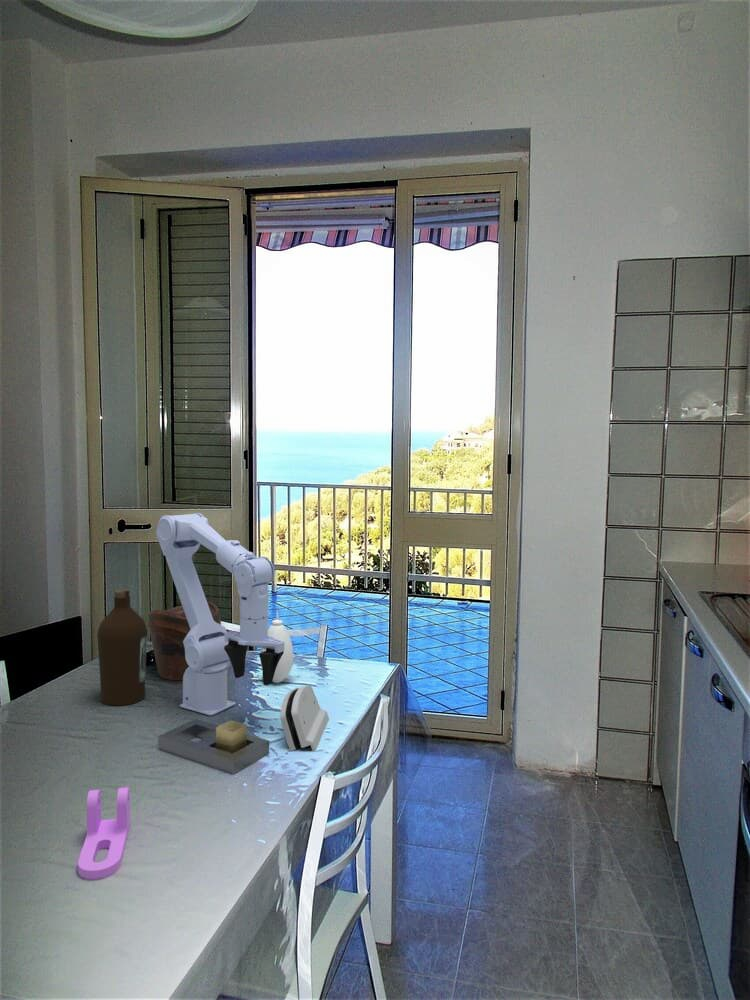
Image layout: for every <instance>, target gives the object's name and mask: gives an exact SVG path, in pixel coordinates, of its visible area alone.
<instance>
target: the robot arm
mask: <svg viewBox="0 0 750 1000" xmlns="http://www.w3.org/2000/svg"><path fill="white" fill-rule="evenodd" d="M155 532H156V533H155V534H156V537H157V541H158V543H159V546H160V549H161V552H162V554H163V556H165V560H166V562H167V566H168V568H169V571H170V575H171V577H172V580H173V583H174V586H175V589H176V592H177V595H178V598H179V600H180V603H181V606H183V609H184V612H185V615H186V618H187V621H188V624H189V627H190V631H189V633H188V634H187V636H186V637H185V639H184V641H183V644H184V647H185V658H186V662H187V664H188V665H189V667H188V668H187V669H186V671H185V673H184V676H183V680H182V703H181V704H180V705H179V707H180V708H183V709H186V710H190V711H194V712H198V713H199V714H203V715H207V716H214V715H216V714H218V713H220V712H223V711H225V710H226V709H229V708H230V707H233V706H235V705H236V702H235V701H232V700H228V667H230V665H231V667H232V670H233V675H234V677H235V679H239V678H241V677H244V676H245V672H246V656H247V652H248V647H249V646H250V647H254V648H259V649H261V648H263V649H266V651H264V652H261V651H260V653H258V656H259V658H260V659H259V660H260V665H261V664H262V667H261V670H262V684H263V685H264V686H268V685H270V684H273V682H272V681H273V677H274V673H275V670H276V667H277V665H278V662H279V660H280V658H281V657H282V655H283V653H284V642H283V641H280V640H277V639H275V638H273V637H270V636H268V629H269V625H268V623H269V621H268V620H269V584H271V583H272V582H273V580H274V577H275V567H274V564H273V563H272V561H271V560H270V559H269V558H268V557H267V556H256V555H255V554H254V552H252V551H249V550H248V549H246V547H244V546H242V545H241V542H240V541H239V540H237V539H235V540H232V539H230V540H226V539H225V538H224V537H222V535H221V534H219V533H218V532H217V531H216V530H215V529H214V528H213V527H212V526H211V525H210V524H209V519H208V518H207V517H205V516H204V515H203V514H201V513H200V512H194V513H187V514H177V515H176V514H174V515H173V514H172V515H169V514H166V515H162V516H161V517H160V518H159V521H158V523H157V528H156V531H155ZM201 545H202V546H203V547H205V548H206V549H208V550H209V551H211V552H212V553H214V554H215V559H216V561H217V563H218V564H220V565H221V567H223V568H225V569H226V570H227V571H228V572H230V573H231V574H232V575H233V578H234V581H235V584H236V586H237V594H238V596H239V631H234V630H229V631H228V630H227V628H226V627H225V626H224V625H222V624H221V625H220V624H218V623H216V622H215V621H214V620H213V617H212V615H211V612H210V609H209V606H208V603H207V602H208V601H207V597H206V595H205V592H204V590H203V587H202V584H201V581H200V579H199V575H198V572H197V571H196V570H197V569H196V567H195V565H194V561H193V554H195V553H197V551H198V550H199V548H200V546H201ZM200 640H201V641H200Z"/></svg>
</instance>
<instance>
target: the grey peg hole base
mask: <svg viewBox="0 0 750 1000" xmlns="http://www.w3.org/2000/svg"><path fill="white" fill-rule="evenodd" d="M218 726H219V725H217V724H214V723H212V722H208V721H205V720H201V719H198V718H194V719H192V720H190V721H188V722H186V723H184V724H182V725H179V726H177V727H175V728H172V729H171V730H169V731H168V730H167V732H164V733H162V734H160V735H157V748H158V750H161V751H164V752H166V753H170V754H173V755H175V756H179V757H181V758H185V759H187V760H190V761H193V762H196V763H199V764H202V765H205V766H208V767H211V768H213V769H216V770H220V771H223V772H225V773H226V772H227V773H229V774H232V775H235V774H236V773H238V772H240V771H241V770H243V769H245V768H247V767H248V766H250V765H252V764H254V763H255V762H257V761H258V760H260V759H262V758H264V757H265V756H267V755H269V754H270V740H268V739H265V738H262V737H259V736H255V735H251V734H249V733H247V746H246V747H244V748H242V749H240V750H239V751H237V752H235V753H233V754H232V753H229V752H226V751H222V750H219V749H216V727H218ZM196 737H197V738H200V740H198V741H194V740H192V739H194V738H196Z"/></svg>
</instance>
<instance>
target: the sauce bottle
mask: <svg viewBox="0 0 750 1000" xmlns="http://www.w3.org/2000/svg"><path fill="white" fill-rule="evenodd" d="M275 616H276V617H275V619H274V620H271V625H270V626H268V636H270V637H273V638H275V639H277V640H280V641H283V642H284V653H283V655H282V657H281V658H280V660H279V662H278V665H277V667H276V670H275V673H274V677H273V681H272V684H273V683H274V684H279V683H281V682H283V681H284V680H285V679H286V678H287V677H289V674H290V673H291V671H292V668H293V665H294V648H293V643H292V639H291V637H290V634H289V631H288V630H287V628H286V626H284V623H283V620H281V619H279V611H278V610H276V615H275ZM264 651H266V649H263V648H260V653H261V652H264ZM260 666H261V668H262V664H261V663H260Z"/></svg>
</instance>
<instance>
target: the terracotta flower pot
mask: <svg viewBox="0 0 750 1000" xmlns="http://www.w3.org/2000/svg"><path fill="white" fill-rule="evenodd" d="M207 603H208V606H209V609H210V612H211V615H212V617H213V620H214V621H215V622H216V623H218V624H220V625H222V621H221V615H220V614H221V613H220V610H219V608H218V606H216V604H214V603H213V602H209V601H207ZM147 616H148V617H147V618H148V621H147V623H148V624H147V628H149V629H148V632H149V635H150V639H151V643H152V649H153V652H154V657H155V663H156V669H157V673H158V675H159V676H160V678H162V679H165V680H171V681H183V676H184V673H185V671H186V669H187V668H188V667H189V665H188V664H187V662H186V658H185V647H184V644H183V641H184V639H185V637H186V636H187V634H188V633H189V631H190V627H189V624H188V621H187V618H186V615H185V612H184V609H183V606H182V605H179V606H175V607H172V608H169V609H164V610H161V609H159V610H157V609H156V610H150V611H149V612H148V615H147ZM200 641H201V640H200Z"/></svg>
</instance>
